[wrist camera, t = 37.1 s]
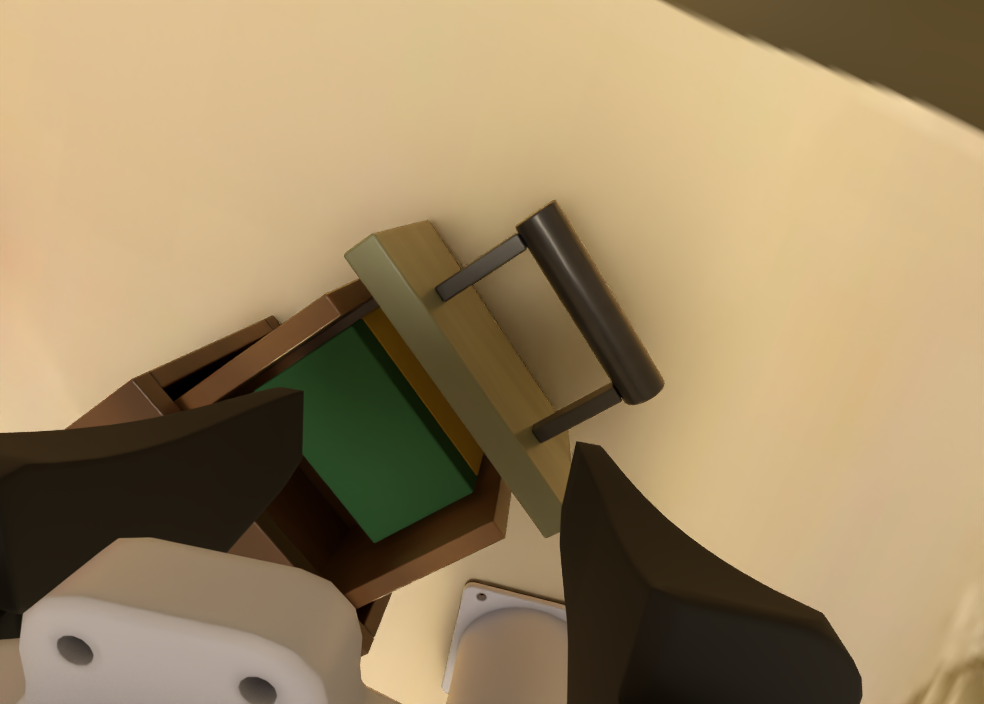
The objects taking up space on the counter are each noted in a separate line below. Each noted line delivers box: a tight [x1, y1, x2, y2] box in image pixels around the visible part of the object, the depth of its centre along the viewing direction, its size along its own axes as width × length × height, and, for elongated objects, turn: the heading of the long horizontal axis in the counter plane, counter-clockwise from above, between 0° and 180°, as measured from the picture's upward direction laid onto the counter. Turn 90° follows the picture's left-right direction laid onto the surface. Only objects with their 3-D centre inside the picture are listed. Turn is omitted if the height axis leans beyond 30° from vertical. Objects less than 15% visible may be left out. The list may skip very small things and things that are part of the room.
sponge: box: [253, 306, 484, 543], centre depth 20 cm, size 5×8×4 cm, turn 33°
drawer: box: [173, 200, 665, 609], centre depth 20 cm, size 17×11×7 cm, turn 123°
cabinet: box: [65, 316, 392, 657], centre depth 23 cm, size 13×12×8 cm
